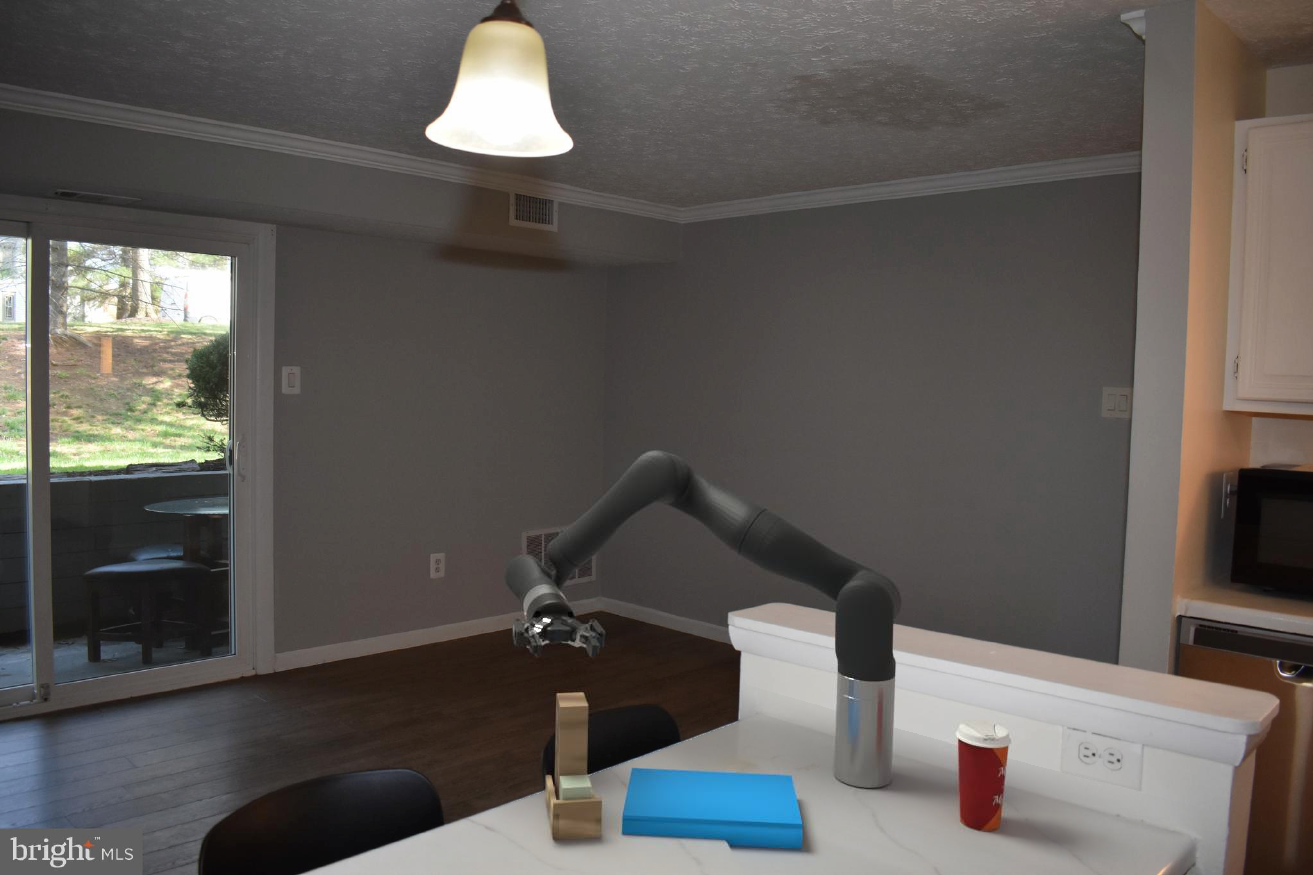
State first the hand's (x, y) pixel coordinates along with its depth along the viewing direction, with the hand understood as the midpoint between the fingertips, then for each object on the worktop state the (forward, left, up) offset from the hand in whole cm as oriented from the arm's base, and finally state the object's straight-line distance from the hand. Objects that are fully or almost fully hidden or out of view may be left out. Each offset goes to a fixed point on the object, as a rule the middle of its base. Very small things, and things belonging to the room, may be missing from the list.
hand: (567, 651), depth 140 cm
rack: (+8, +5, -22) cm, 24 cm away
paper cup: (-14, +60, -22) cm, 66 cm away
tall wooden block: (+6, +3, -21) cm, 22 cm away
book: (-1, +23, -23) cm, 33 cm away
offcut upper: (+11, +7, -18) cm, 22 cm away
